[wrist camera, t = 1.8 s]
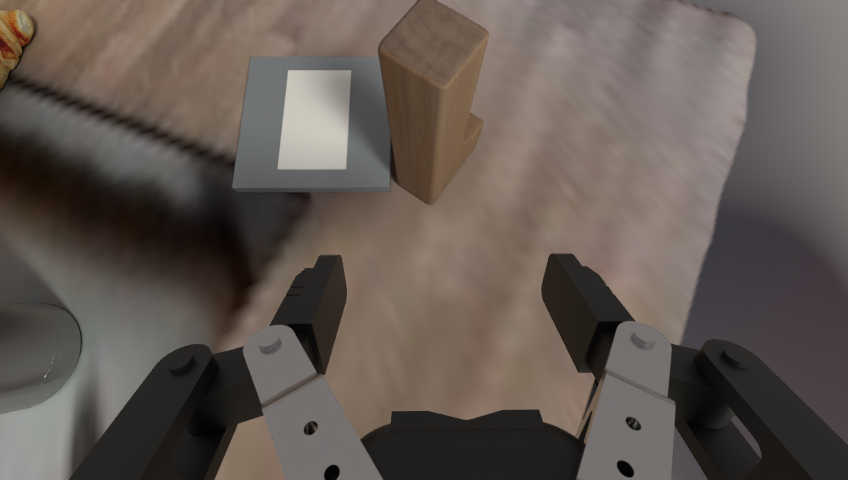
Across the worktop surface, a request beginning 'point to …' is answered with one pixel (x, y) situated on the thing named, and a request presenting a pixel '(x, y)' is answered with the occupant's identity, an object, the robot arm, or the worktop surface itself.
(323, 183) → the socket board
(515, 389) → the worktop surface
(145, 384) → the robot arm
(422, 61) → the wooden block
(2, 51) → the croissant
